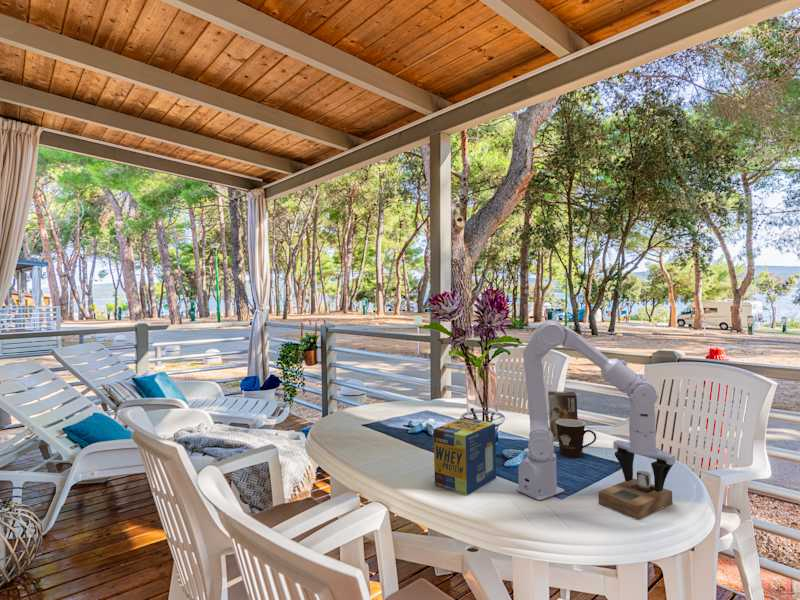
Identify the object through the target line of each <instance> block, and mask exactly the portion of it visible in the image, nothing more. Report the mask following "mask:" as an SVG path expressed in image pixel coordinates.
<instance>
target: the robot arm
mask: <svg viewBox="0 0 800 600" xmlns="http://www.w3.org/2000/svg"><path fill="white" fill-rule="evenodd" d="M560 345H562V348H565V349H573V350H575V351H577V353H580V354H581V355H582V356H583V357H585V358H586V359H588V360H589V361H590V362H591V363H592V364H594V365H595V366H597V367H598V368H600V375H601V377H602V378H604V379H605V380H606V381H607V382H608V383H610V385H613V386H614V387H615V388H616V389H618V390H619V391H620V392H622V394H627V397H628V398H630V399H629V408H628V417H629V418H628V419H629V422H628V424H629V425H628V426H629V427H628V428H629V441H625V440H620V439H616V440H614V441H613V444H612V445H613V449H614V450H617V451H615V452H614V457H615V458H616V459H617V461H618V463H619V465H620V467H621V470H622V474H623V476H624V477H623V478H624V481H627V482H628V481H630V480H632V479H633V478H634V459H635V455H638V456H642V457H645V458H649V459H652V460H656V461H653V462H651V463H650V465H651V468H652V473H653V477H654V478H653V479H654V484H653V485H654V486H655V491H657V492H659V491H662V490H663V488H664V486H665V481H666V478H667V476H668V474H669V472H670V470H671V468H672V467H673V465H674V464H675V463H676V455H675V454H674V453H673V454H672V453H670V452H667V451H664V450H663V449H659V448H657V437H656V436H657V435H656V431H657V429H656V428H657V426H656V425H657V424H656V411H655V408H656V406H655V404H656V402H657V401H658V399H659V395H658V394H657V391H656V389H655V387H654V386H653V385H652V384H650V382H649V381H647V379H645V377H644V376H643V374H641V373H636V372H635V371H634V370H632V368H630V367H629V366H628V362H626V361H625V360H623V359H621V360H620V359H619V358H608V357H607V356H605V354H603V352H601V351H600V350H599V349H597V348H596V347H595V346H593V344H591V342H589V341H587V340H586V339H585V338H584V337H583V336H581V334H579V333H578V332H576V331H574V330H573V329H571V328H570V327H567V326H566V325H564V326H563V324H561V322H559V321H558V320H556V319H547V320H545V321H544V322H542V323H541V324H540V325H539V326H537V327H536V329H534V332H533V333H532V335H531V336H530V339H529V341H528V342H527V344H526V346H525V347H524V349H523V350H522V351H523V352H522V355H523V365H524V367H523V368H524V376H525V384H526V385H525V386H526V394H527V395H526V396H527V397H526V398H527V406H528V413H529V416H528V417H529V430H530V432H529V434H528V435H529V437H528V438H529V439H528V445H527V449H528V450H527V452H526V457H525V459H523V460H522V461H520V463H519V464H518V467H517V468H518V469H517V471H518V474H517V475H518V477H517V478H518V487H516V488H515V489H516V491H517V492H519V493H522V494H524V495H527V496H528V497H531V498H533V499H535V500H538V501H542V500H545V499H547V498H550V497H553V496H555V495H559V494H561V493H564V492H565V489H564V488H562V487H560V486H558V485H557V479H558V478H557V454H556V452H555V446H554V442H555V441H554V436H553V433H552V432H551V430H550V427H549V415H548V408H547V398H546V389H545V380H544V370H543V369H544V368H543V358H544V357H545V356H546V355H547V354H548V353H549V351H551V350H553V349H555V348H557V347H559V346H560Z"/></svg>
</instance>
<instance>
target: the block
mask: <svg viewBox="0 0 800 600" xmlns="http://www.w3.org/2000/svg"><path fill="white" fill-rule="evenodd" d="M597 494H598V505H600V506H602V507H603V506H604V507H606V508H608V509H611V510H613V511H615V512H618V513H620V514H623V515H626V516H628V517H631V518H632V519H634V520H635V519H636V520H640V519H642V518H645V517H647V516H649V515H651V514H654V513H655V511H656V512H657V510H658V511H659V509H660V510H662V509H664V508H666V507H668V506H670V505H669V504H671V503H672V504H673V491H672V490H669V489H667V488H664V487H663V490H662V491H659V492H657V491H655V486H654V484H652V483H651V492H649V493H645V492H642V491H639V490H637V478H634V477H633V479H632V480H630V481H628V482H627V481H625V480H623V481H622V482H619V483H616V484H614V485H611V486H609V487H605V488H603V489H601V490H599V491H598V493H597ZM672 504H671V505H672ZM667 505H668V506H667ZM665 506H666V507H665ZM663 507H664V508H663ZM661 508H662V509H661ZM653 512H654V513H653ZM644 516H645V517H644Z"/></svg>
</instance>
